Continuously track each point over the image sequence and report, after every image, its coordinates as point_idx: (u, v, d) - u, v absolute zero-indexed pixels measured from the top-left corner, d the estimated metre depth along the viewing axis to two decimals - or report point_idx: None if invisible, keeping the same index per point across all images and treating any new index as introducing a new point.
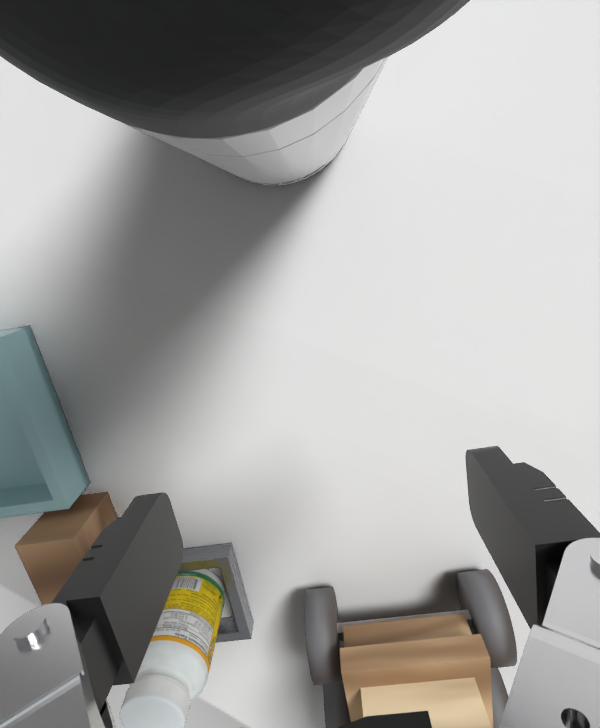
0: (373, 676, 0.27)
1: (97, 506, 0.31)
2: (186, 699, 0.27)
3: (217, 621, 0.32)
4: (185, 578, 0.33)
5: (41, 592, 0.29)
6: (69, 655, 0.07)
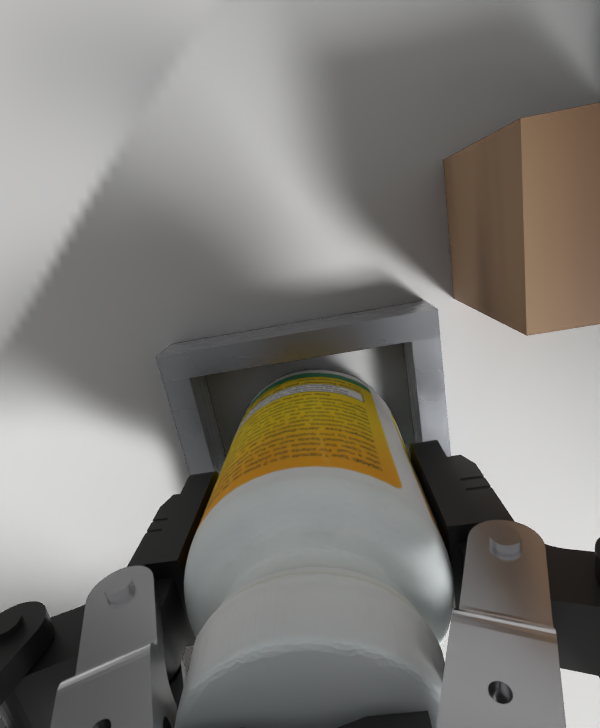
0: None
1: None
2: None
3: None
4: None
5: (586, 128, 0.08)
6: (147, 620, 0.07)
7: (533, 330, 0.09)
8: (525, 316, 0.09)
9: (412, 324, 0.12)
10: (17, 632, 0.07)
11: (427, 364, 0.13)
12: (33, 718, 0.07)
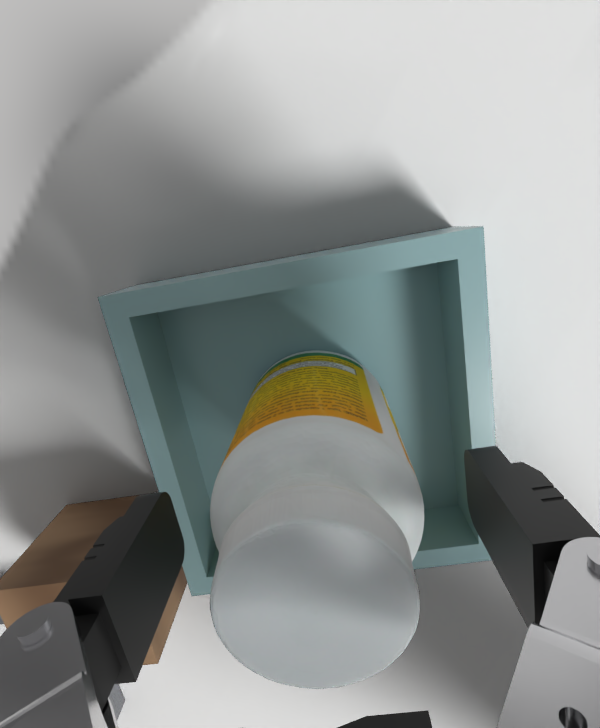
0: None
1: None
2: None
3: None
4: None
5: (23, 596, 0.15)
6: (71, 654, 0.07)
7: None
8: None
9: None
10: None
11: None
12: None
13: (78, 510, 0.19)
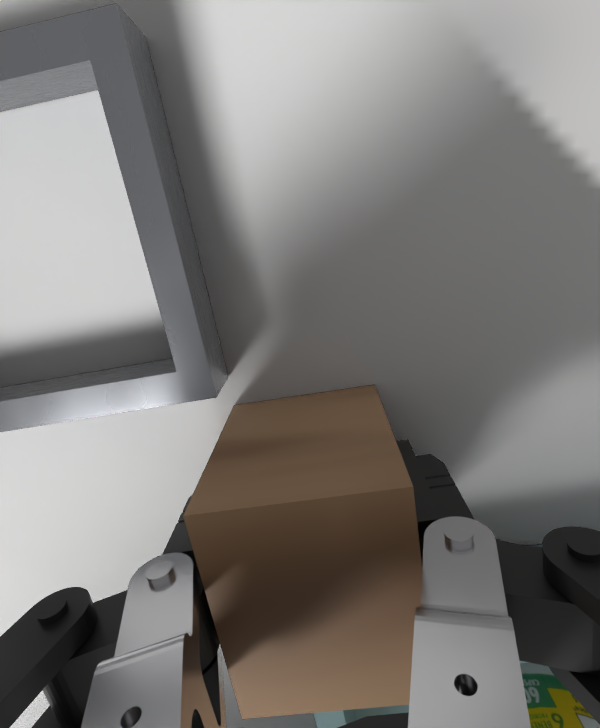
0: None
1: None
2: None
3: None
4: None
5: (398, 544, 0.08)
6: (184, 609, 0.07)
7: (189, 522, 0.08)
8: (205, 512, 0.08)
9: (196, 371, 0.11)
10: (64, 615, 0.08)
11: (150, 391, 0.11)
12: (74, 702, 0.08)
13: None
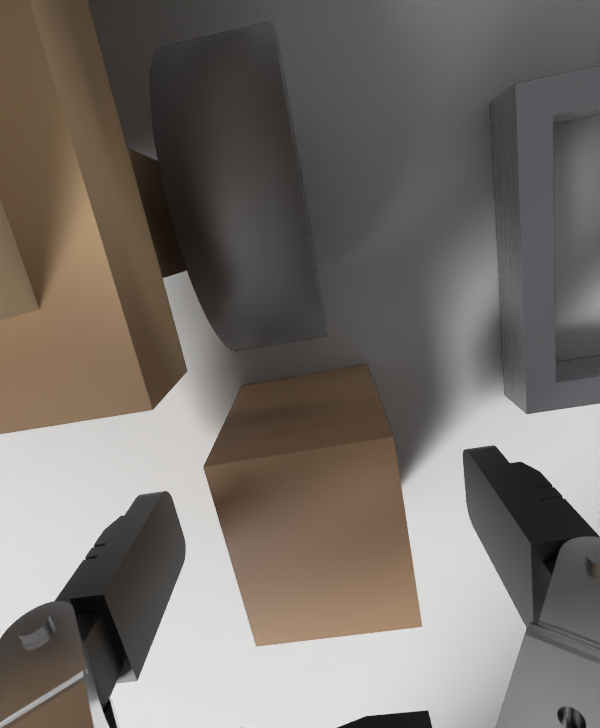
0: None
1: None
2: None
3: None
4: None
5: (383, 486, 0.09)
6: (73, 653, 0.07)
7: (208, 471, 0.09)
8: (221, 463, 0.09)
9: None
10: None
11: None
12: None
13: None
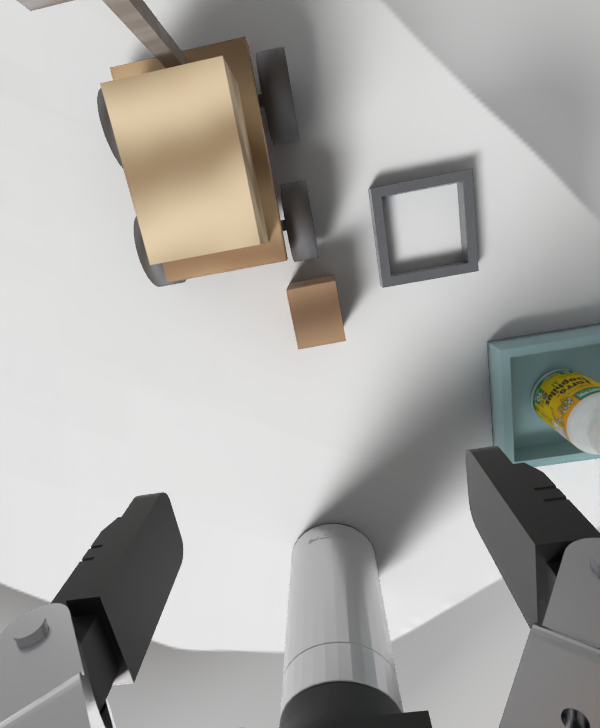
0: (258, 256, 0.32)
1: None
2: (591, 441, 0.33)
3: (545, 411, 0.39)
4: None
5: (333, 295, 0.35)
6: (69, 655, 0.07)
7: (287, 291, 0.35)
8: (291, 289, 0.35)
9: (474, 262, 0.37)
10: None
11: (459, 269, 0.37)
12: None
13: None
